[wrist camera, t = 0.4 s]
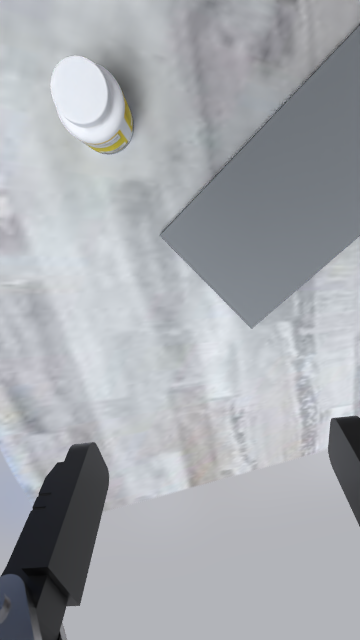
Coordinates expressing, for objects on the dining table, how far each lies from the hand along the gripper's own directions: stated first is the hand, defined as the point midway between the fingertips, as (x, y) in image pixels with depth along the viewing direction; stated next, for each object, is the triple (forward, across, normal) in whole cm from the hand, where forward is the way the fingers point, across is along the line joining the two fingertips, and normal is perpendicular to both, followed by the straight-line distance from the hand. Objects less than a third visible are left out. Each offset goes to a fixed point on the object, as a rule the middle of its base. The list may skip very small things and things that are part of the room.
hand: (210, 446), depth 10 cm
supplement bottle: (+29, +7, -13) cm, 32 cm away
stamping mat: (+29, -12, -3) cm, 32 cm away
